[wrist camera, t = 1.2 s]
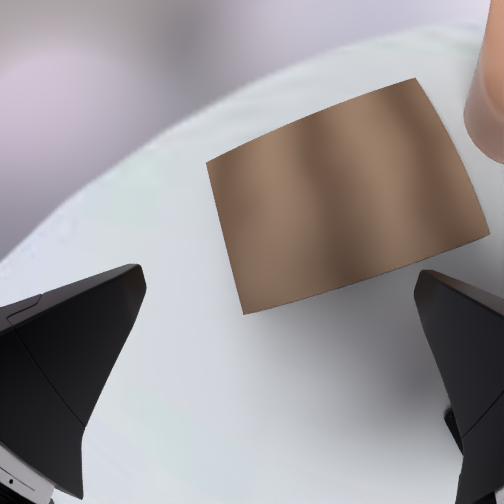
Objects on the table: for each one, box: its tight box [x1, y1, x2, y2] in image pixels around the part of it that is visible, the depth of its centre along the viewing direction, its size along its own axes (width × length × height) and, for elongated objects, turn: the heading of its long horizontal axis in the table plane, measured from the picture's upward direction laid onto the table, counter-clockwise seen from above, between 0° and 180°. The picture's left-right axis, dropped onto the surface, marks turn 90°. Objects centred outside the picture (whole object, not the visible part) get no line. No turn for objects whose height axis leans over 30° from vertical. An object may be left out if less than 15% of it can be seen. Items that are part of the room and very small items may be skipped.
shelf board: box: [206, 78, 490, 315], centre depth 19 cm, size 16×11×2 cm
